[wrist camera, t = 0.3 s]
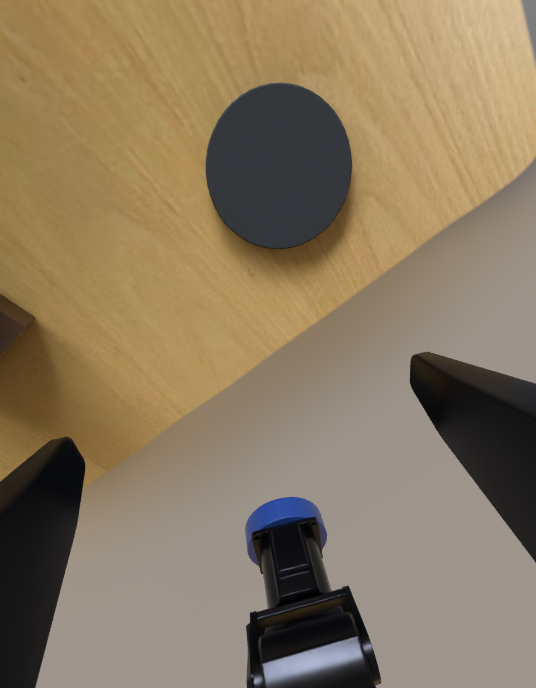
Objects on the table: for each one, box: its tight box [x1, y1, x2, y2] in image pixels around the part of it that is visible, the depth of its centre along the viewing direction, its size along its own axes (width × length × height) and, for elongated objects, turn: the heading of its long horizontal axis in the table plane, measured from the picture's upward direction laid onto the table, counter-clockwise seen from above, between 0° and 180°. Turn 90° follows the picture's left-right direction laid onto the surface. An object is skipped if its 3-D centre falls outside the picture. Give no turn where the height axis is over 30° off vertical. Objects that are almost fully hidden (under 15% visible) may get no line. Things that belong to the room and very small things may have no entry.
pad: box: [206, 83, 352, 249], centre depth 21 cm, size 9×9×1 cm
